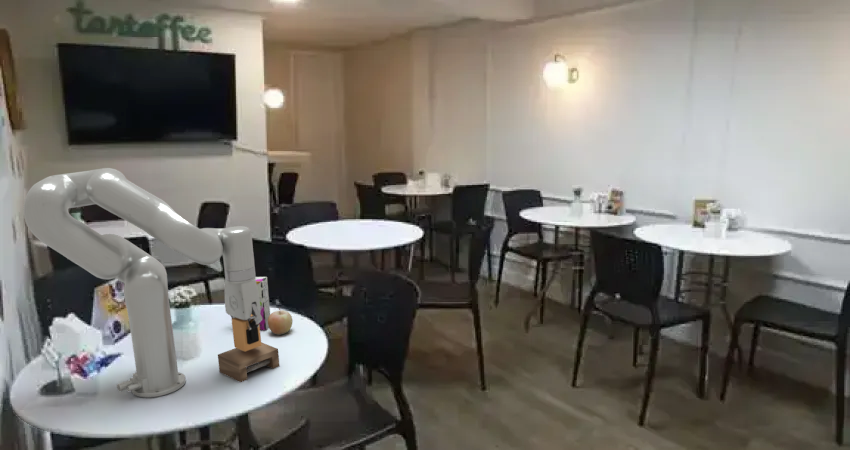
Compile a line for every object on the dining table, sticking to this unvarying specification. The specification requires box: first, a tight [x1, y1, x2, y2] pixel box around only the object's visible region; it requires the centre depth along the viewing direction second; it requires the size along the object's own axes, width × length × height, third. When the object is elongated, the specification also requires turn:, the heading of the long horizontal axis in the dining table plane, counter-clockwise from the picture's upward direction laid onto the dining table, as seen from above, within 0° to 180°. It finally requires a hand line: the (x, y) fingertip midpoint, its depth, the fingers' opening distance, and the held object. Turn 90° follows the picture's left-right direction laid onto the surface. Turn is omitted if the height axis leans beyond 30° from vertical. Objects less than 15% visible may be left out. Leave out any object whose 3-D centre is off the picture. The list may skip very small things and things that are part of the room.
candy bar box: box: [255, 276, 271, 331], centre depth 192 cm, size 11×5×16 cm, turn 84°
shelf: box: [217, 341, 281, 383], centre depth 163 cm, size 12×10×5 cm
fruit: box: [268, 307, 293, 336], centre depth 188 cm, size 8×7×8 cm
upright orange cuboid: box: [231, 314, 262, 352], centre depth 162 cm, size 5×5×8 cm
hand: (247, 339), depth 162 cm, fingers closed on upright orange cuboid, 5 cm apart
